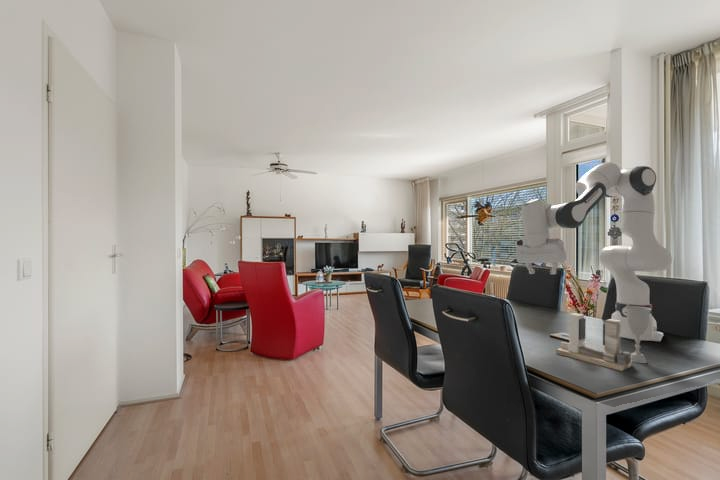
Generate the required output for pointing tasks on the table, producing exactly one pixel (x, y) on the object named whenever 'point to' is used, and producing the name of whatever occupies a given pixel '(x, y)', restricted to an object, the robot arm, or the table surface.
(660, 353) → the table surface
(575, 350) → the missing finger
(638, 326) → the chalice
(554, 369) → the table surface
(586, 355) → the wooden stand
